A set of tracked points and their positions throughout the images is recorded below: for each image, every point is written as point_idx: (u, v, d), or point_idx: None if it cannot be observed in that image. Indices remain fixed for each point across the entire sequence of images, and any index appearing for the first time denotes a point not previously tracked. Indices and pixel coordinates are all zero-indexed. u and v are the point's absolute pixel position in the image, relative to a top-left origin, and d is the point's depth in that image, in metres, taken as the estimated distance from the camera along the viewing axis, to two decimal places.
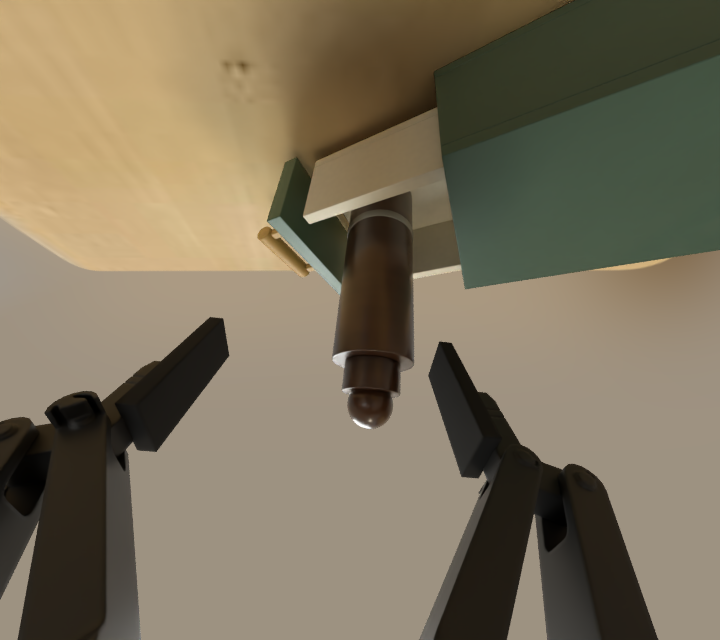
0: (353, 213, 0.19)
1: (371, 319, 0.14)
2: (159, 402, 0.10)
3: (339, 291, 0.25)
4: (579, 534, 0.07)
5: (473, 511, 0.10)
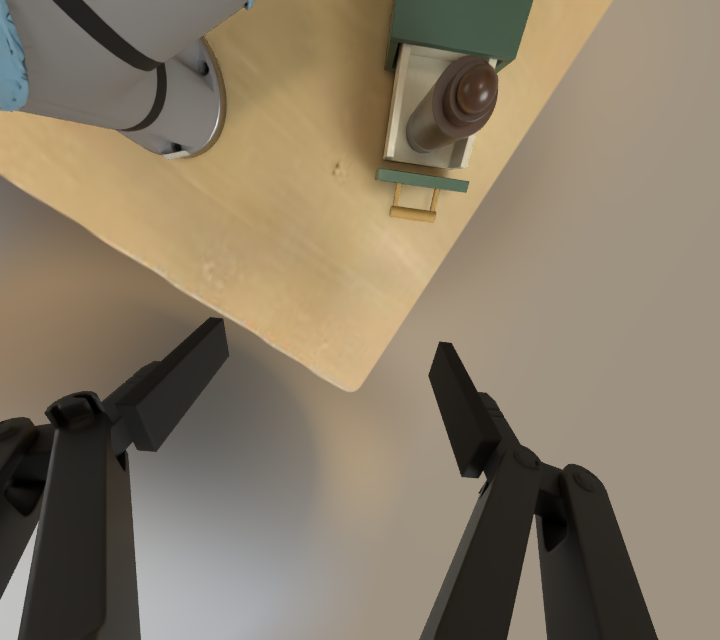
0: (411, 137, 0.30)
1: (432, 87, 0.21)
2: (159, 402, 0.10)
3: (457, 187, 0.31)
4: (579, 534, 0.07)
5: (473, 511, 0.10)
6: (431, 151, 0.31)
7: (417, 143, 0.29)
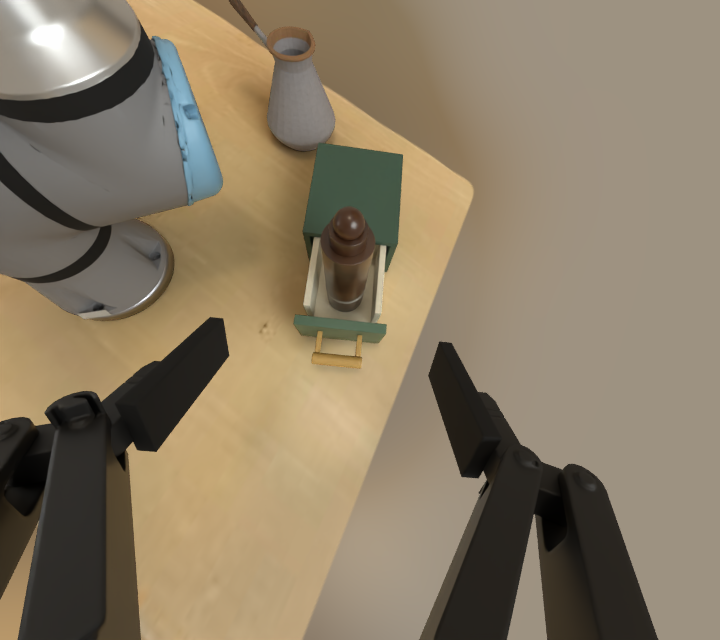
0: (328, 295, 0.33)
1: None
2: (159, 402, 0.10)
3: (376, 330, 0.30)
4: (579, 534, 0.07)
5: (473, 511, 0.10)
6: (349, 306, 0.34)
7: (332, 296, 0.32)
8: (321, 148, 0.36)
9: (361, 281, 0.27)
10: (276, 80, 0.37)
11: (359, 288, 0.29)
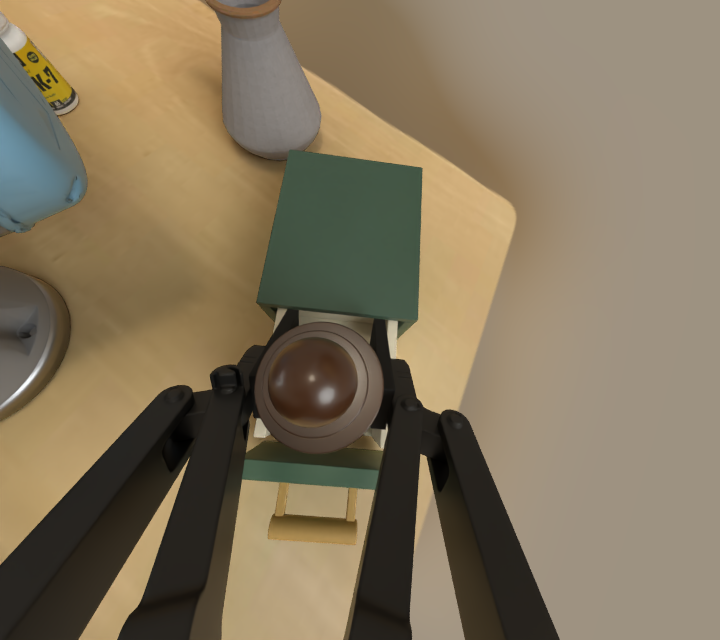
0: None
1: None
2: None
3: None
4: (456, 470, 0.09)
5: (380, 465, 0.11)
6: None
7: None
8: (293, 158, 0.23)
9: None
10: (225, 53, 0.24)
11: None
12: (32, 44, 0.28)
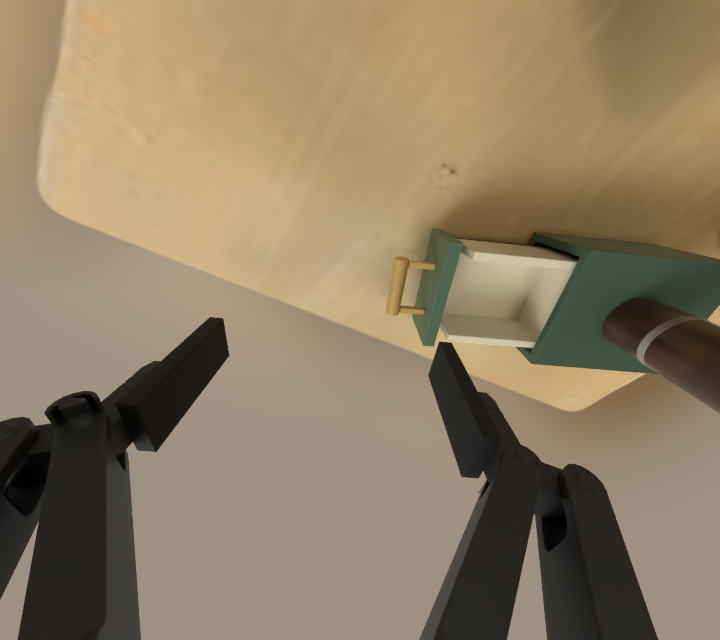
0: (661, 314, 0.21)
1: None
2: (159, 402, 0.10)
3: (428, 336, 0.27)
4: (579, 534, 0.07)
5: (473, 511, 0.10)
6: (621, 338, 0.23)
7: (668, 330, 0.20)
8: None
9: (717, 408, 0.17)
10: None
11: (687, 388, 0.19)
12: None
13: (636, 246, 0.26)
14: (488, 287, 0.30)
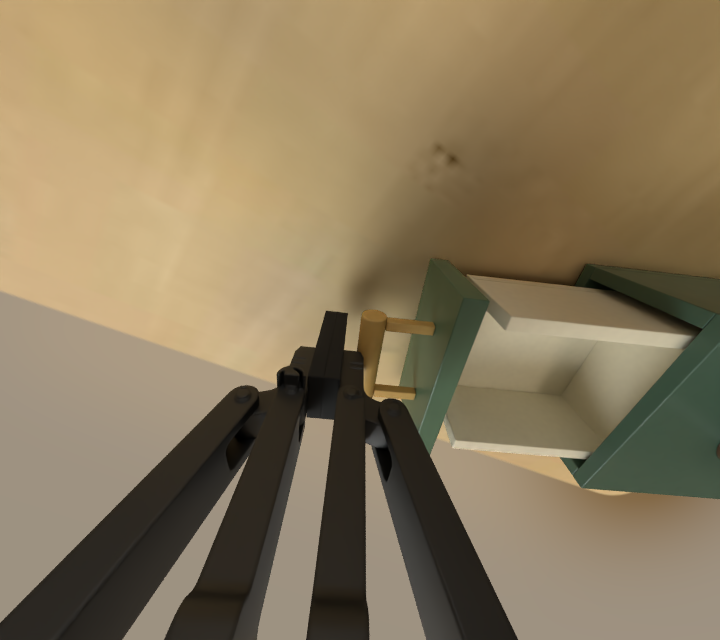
0: None
1: None
2: None
3: None
4: (398, 459, 0.09)
5: None
6: None
7: None
8: None
9: None
10: None
11: None
12: None
13: None
14: (519, 350, 0.18)
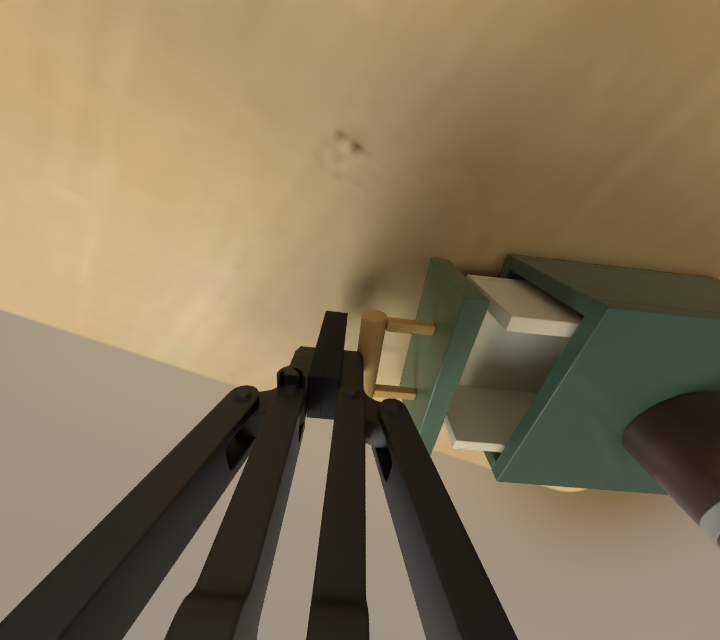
0: None
1: None
2: None
3: None
4: (398, 459, 0.09)
5: None
6: (664, 475, 0.12)
7: None
8: None
9: None
10: None
11: None
12: None
13: (684, 284, 0.15)
14: (520, 350, 0.18)
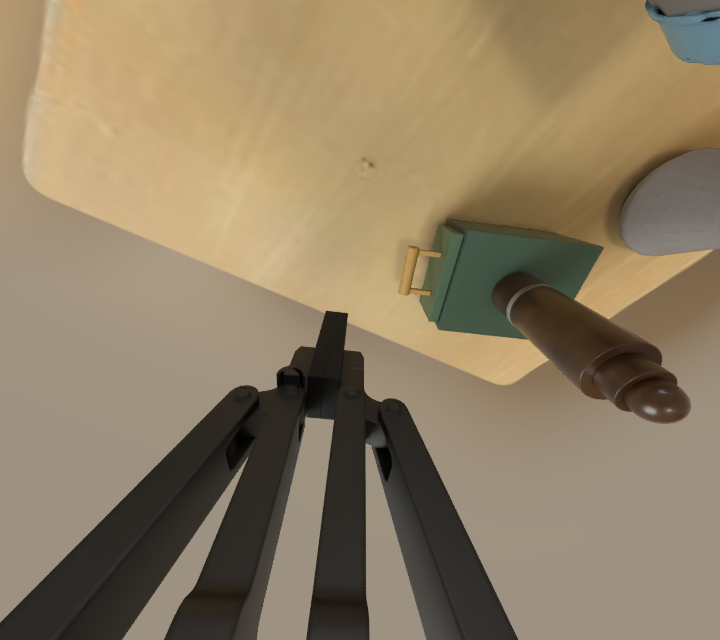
0: (523, 283, 0.26)
1: (628, 331, 0.18)
2: None
3: (433, 313, 0.32)
4: (398, 459, 0.09)
5: None
6: (499, 304, 0.28)
7: (522, 294, 0.25)
8: (592, 251, 0.27)
9: (541, 351, 0.22)
10: None
11: (529, 338, 0.24)
12: None
13: (527, 231, 0.31)
14: None
